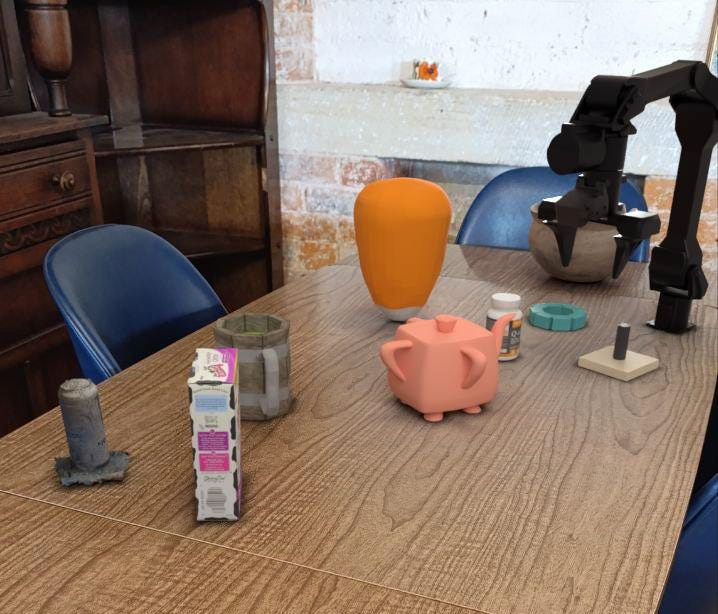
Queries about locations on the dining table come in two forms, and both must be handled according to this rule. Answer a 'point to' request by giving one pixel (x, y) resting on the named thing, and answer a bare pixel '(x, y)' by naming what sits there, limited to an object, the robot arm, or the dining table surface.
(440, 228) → the orange egg-shaped ornament
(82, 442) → the grey upright cylinder
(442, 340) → the teapot
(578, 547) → the dining table surface
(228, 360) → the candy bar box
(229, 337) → the mug
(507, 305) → the pill bottle
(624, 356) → the peg stand
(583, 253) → the ceramic bowl
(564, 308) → the ring
